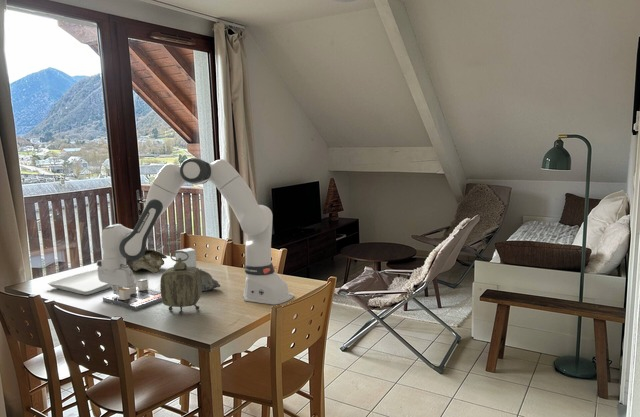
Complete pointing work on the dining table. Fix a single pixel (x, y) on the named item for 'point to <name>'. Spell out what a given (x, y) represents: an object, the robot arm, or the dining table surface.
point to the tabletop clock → (181, 285)
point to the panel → (136, 299)
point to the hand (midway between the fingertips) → (117, 294)
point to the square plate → (81, 283)
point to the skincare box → (191, 253)
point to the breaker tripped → (124, 293)
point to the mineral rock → (208, 281)
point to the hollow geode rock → (148, 261)
